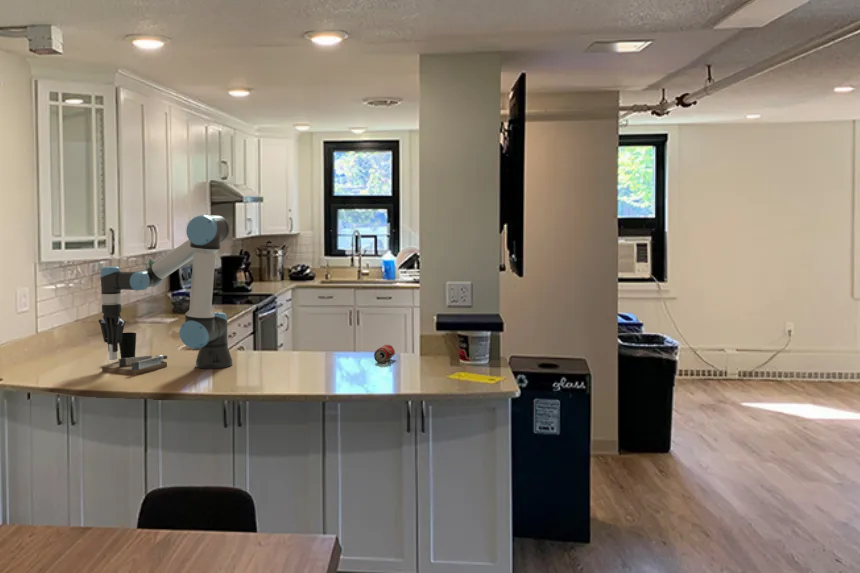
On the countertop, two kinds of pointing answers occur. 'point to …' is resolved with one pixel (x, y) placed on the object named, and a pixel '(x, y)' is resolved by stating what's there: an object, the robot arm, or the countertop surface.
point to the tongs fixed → (148, 362)
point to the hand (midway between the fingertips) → (113, 359)
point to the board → (128, 369)
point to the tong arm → (132, 360)
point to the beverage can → (384, 353)
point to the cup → (128, 345)
